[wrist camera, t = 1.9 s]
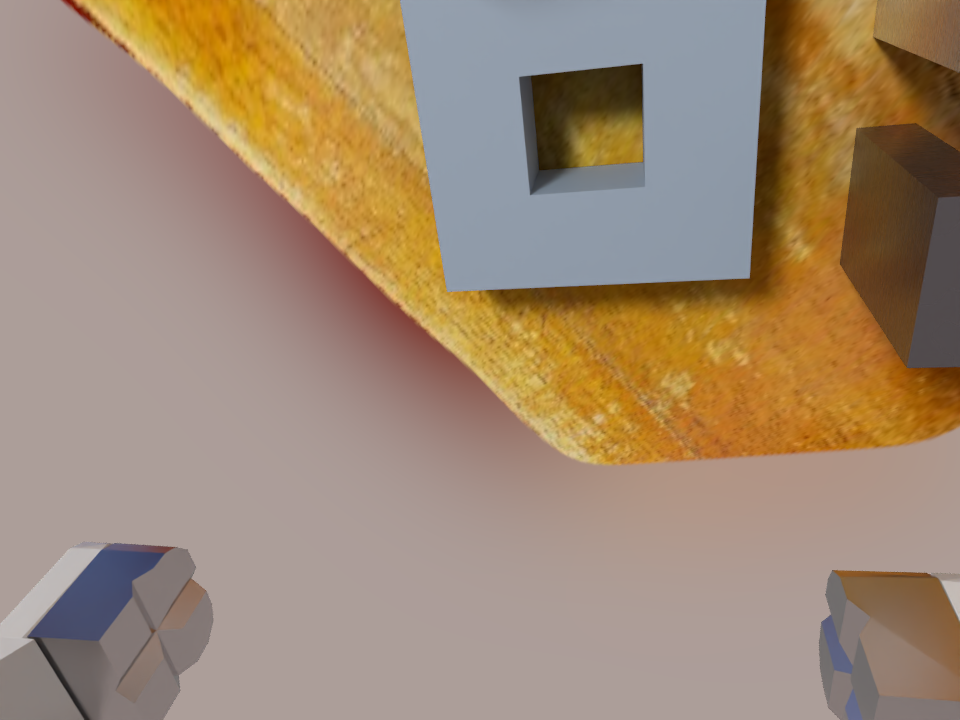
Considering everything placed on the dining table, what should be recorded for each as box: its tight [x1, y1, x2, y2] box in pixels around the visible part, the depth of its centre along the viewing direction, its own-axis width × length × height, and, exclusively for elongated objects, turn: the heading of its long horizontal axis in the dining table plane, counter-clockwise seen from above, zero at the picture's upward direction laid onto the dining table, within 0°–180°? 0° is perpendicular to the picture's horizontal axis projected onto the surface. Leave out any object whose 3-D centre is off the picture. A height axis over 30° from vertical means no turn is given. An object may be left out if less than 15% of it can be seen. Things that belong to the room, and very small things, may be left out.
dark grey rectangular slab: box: [840, 123, 960, 368], centre depth 29 cm, size 2×6×10 cm, turn 8°
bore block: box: [400, 0, 766, 292], centre depth 32 cm, size 14×14×4 cm
